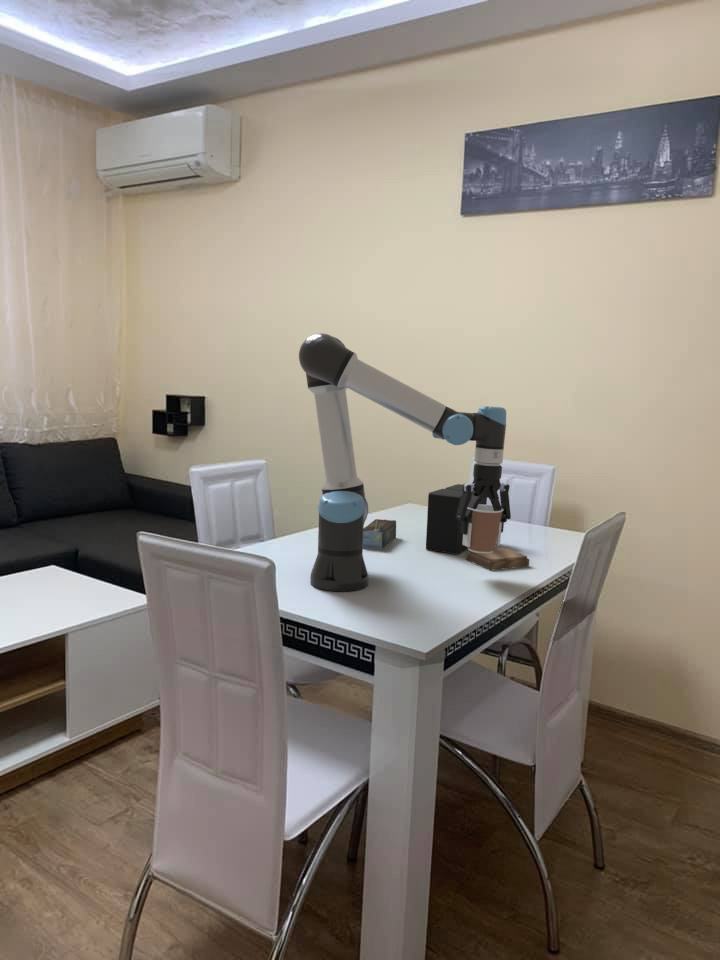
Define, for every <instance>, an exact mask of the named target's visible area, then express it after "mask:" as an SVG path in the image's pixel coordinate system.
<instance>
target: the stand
mask: <svg viewBox="0 0 720 960" xmlns="http://www.w3.org/2000/svg"><path fill="white" fill-rule="evenodd" d="M465 560H466V561H468V562H470V563H472V562H473V563H472V564H474V563H475V565H477V566H479V565H480V567H481V566H482V568H483V567H484V568H483V569H485V568H486V569H485V570H487V569H489V570H488V571H493V570H492V569H497V570H503V569H502V568H508V569H513V568H512V567H518V568H526V567H525V566H530V559H529V558H528V556H527V555H524V554H522V553H520V552H517V551H515V550H513V549H510V548H507V547H497V548H494V551H493V552H492V553H476V552H472V551H470V550H469V549H468V552H466V559H465ZM523 566H524V567H523Z"/></svg>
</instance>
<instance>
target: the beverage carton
mask: <svg viewBox="0 0 720 960" xmlns="http://www.w3.org/2000/svg"><path fill="white" fill-rule="evenodd" d="M396 538H397V520H396V519H395V520H393V519H391V520H390V519H377V518H376V519H373V521H371V522H370V523H369V524H368V525H366V526H364V528H363V549H368V548H369V549H370V550H381V551H382V550H384V549H385V548H386V547H387V546H388V545H390V543H391V542H392V541H393V540H394V539H396Z"/></svg>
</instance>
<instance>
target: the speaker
mask: <svg viewBox="0 0 720 960" xmlns="http://www.w3.org/2000/svg"><path fill="white" fill-rule="evenodd" d="M472 490H473V491H472V492H471V496H472V494H473V492H474V489H472ZM462 493H463V484H460V483H458V484H454V485H451V486H447V487H445V488H441V489H437V490H434V491H430V492H429V493H428V497H427V516H426V517H427V518H426V533H425V534H426V537H425V549H426V550H429V551H434V552H441V553H446V554H447V553H448V554H452V555H458V554H461V553H462V552H464V551H466V550H469V549H468V547H467V546H464V545H462V542H463V534H462V533H461V527H462V521H461V520H458V519H456V514H457V510H458V507H459V503H460V500H461V496H462ZM477 497H478V496H477ZM471 499H472V497H470V500H469V502H470V501H471ZM487 502H488V498H483V499H482V501H480V502H479V504H484V505H488V504H487Z"/></svg>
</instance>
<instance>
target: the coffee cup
mask: <svg viewBox="0 0 720 960" xmlns="http://www.w3.org/2000/svg"><path fill="white" fill-rule="evenodd" d="M467 509H469V510H473V512H472V518H471V520H470V523H472V529H471V541H470V547H468V549H467V550H468V551H469V550H470V551H472V552H476V553H492V552H493V551H494V548H495V547H496V539H497V535H498V530H499V525H500V520H501V516H502V511H503V509H502V508H501V511H494V509H493V507H492V504H487V505H484V504H478V506H477V508H476V510H475V509H471V508H468V507H467Z"/></svg>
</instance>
